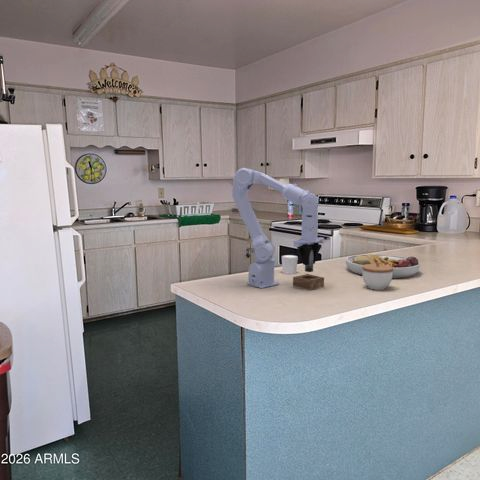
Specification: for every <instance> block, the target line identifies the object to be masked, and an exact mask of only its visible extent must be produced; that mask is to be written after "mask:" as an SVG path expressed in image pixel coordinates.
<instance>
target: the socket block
mask: <svg viewBox="0 0 480 480" xmlns="http://www.w3.org/2000/svg"><path fill="white" fill-rule="evenodd" d="M292 287H295V288H299V289H302V290H306V291H314V290H317V289H321V288H324V287H325V277H323V276H319V275H314V274H309V273H306V274H300V275H296V276H293V277H292Z"/></svg>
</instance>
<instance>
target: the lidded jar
mask: <svg viewBox="0 0 480 480" xmlns="http://www.w3.org/2000/svg"><path fill="white" fill-rule="evenodd" d="M362 269H363V270H362V275H361V276H362V280H363V282H364V285H366V286H367V289H368V288H369V289H371V290H379V291H381V290H382V291H383V290H386V288H387V287H388V286H389V285H390V284H391V282H392V279H393V278H392V276H393V267H391V266H388V265H382V264H379V262H376V264H366V265H363V266H362Z"/></svg>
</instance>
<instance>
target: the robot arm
mask: <svg viewBox="0 0 480 480" xmlns="http://www.w3.org/2000/svg"><path fill="white" fill-rule="evenodd" d="M232 182H233V184H232V191H231V192H232V193H231V194H232V195H231V196H232V199H233V201H234V203H235V206H236V208H237V210H238V213H239V214H240V217H241V219H242V220H243V223H244V225H245V228H246V230H247V232H248V234H249V236H250V238H251V241H252V243H251V245H252V247H253V250H254V257H255V259H254V262H252V263H250V264H249V266H248V282H246V284H247V285H248V286H252V287H256V288H259V289H263V288H268V287H272V286H277V285H279V284H280V283H279V282H278V281H275V259H274V258H273V256H274V254H275V250H276V249H275V245H274V244H273V243H272V242H270V241H269V239H268V237H267V236H266V235H265V233H264V231H263V229H262V226H261V224H260V222H259V220H258V218H257V216H256V213H255V211H254V209H253V207H252V204H251V203H250V200H249V199H248V193H249V191H250V189H251V187H252V186H253V185H255V184H256V185H257V184H258V185H261V184H262V185H264V186H265V187H266V186H267V187H269V188H270V189H273V190H275V191H277V192H280V193H281V195H282V198H283V199H285V200H288V201H290V202H291V203H293V204H295V205H297V206H301V207H302V214H301V238H300V239H296V240H294V241H293V247H296V248H297V250H298V253H299V254H300V258H301V261H302V265H304V266H305V265H308V264H309V256H310V252H311V249H314V259H313V265H315V264H316V260H317V257H318V254H319V252H320V250H321V249H322V244H324V243H325V237H321V236H320V237H318V236H319V235H318V233H319V231H318V229H319V228H318V226H319V224H318V223H319V222H318V221H319V209H318V206H319V198H318V196H317V195H316V194H314V193H311V192H310V191H309V190H308V189H307V190H305V189H303V188H300V186H298V184H297V183H293V184H292V183H288V184H284V183H282V182H281V181H279V180H277V179H275V178H273V177H271V176H270V175H267V174H265V173H264V172H260V171H257V170H254V169H251V168H246V167H242V168H239V169H237V171H236V172H235V173H234V176H233V179H232Z"/></svg>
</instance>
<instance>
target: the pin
mask: <svg viewBox="0 0 480 480" xmlns="http://www.w3.org/2000/svg"><path fill="white" fill-rule="evenodd" d="M313 259H314V249H311V252H310V256H309V264H308V265H304V272H307V273H313V272H314V264H313Z"/></svg>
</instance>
